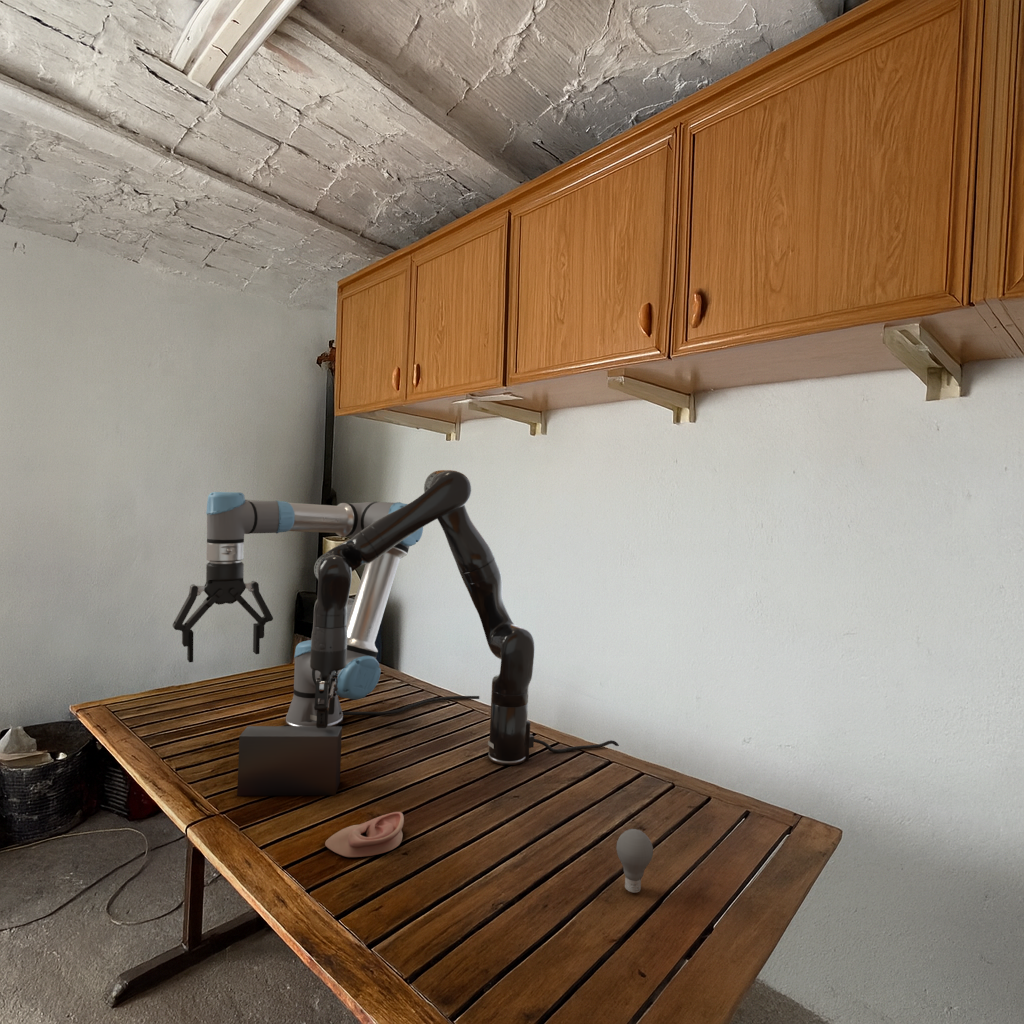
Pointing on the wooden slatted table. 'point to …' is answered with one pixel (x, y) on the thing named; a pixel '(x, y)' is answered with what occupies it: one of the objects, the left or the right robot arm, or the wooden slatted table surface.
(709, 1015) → the wooden slatted table surface
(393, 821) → the anatomical model
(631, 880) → the light bulb
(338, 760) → the box
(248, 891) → the wooden slatted table surface
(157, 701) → the wooden slatted table surface
